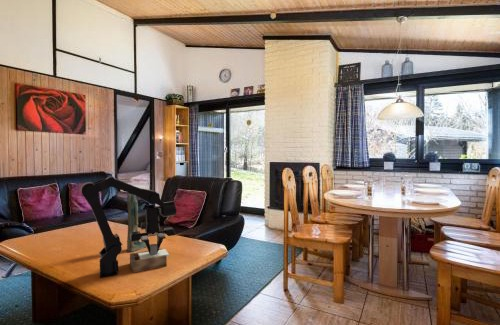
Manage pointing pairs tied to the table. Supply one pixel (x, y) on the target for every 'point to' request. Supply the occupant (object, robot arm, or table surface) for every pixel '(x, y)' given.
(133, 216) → the statue
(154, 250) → the cover
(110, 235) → the robot arm
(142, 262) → the box
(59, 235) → the table surface
